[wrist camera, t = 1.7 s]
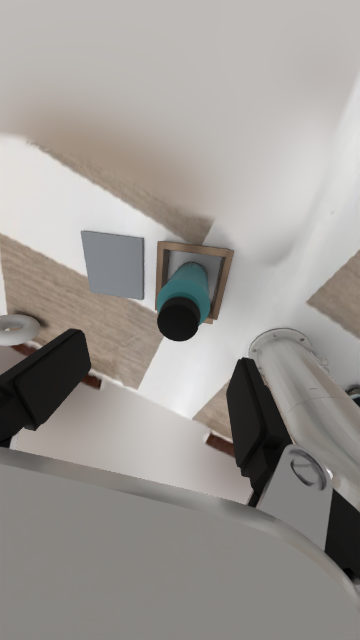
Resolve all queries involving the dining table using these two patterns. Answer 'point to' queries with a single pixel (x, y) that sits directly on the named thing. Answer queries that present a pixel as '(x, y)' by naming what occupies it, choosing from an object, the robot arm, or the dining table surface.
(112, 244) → the slate mat
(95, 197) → the dining table surface
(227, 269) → the brown wooden open box
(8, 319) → the donut
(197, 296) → the beverage bottle
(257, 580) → the robot arm
